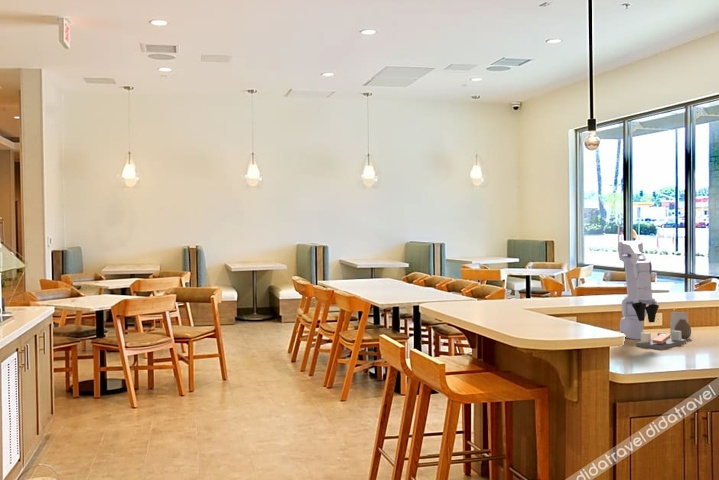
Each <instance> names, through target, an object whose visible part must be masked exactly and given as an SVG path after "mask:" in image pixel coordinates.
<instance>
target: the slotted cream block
mask: <svg viewBox="0 0 719 480" xmlns="http://www.w3.org/2000/svg"><path fill="white" fill-rule="evenodd" d="M651 334H652V333H651V332H645V331H643V332H642V333H641V339H640V342H646V343H649V342H651V339H652V336H651Z"/></svg>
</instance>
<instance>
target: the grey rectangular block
mask: <svg viewBox="0 0 719 480" xmlns="http://www.w3.org/2000/svg"><path fill="white" fill-rule="evenodd" d="M679 319H686V321H687V323H688V324H689V316H688V312H681V311H680V312H678V311H671V314H670V321H669V324H670V332H669V333H671V331H673V330H674V327H675V325H676V324H677V322H678V321H679Z"/></svg>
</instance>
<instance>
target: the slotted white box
mask: <svg viewBox="0 0 719 480" xmlns="http://www.w3.org/2000/svg"><path fill="white" fill-rule="evenodd" d="M670 337H671V340H677V341H679V340H682V336H681V331H676V330H673V331H671V334H670Z"/></svg>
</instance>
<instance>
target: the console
mask: <svg viewBox="0 0 719 480" xmlns="http://www.w3.org/2000/svg"><path fill="white" fill-rule="evenodd" d="M653 339H654V338H651V342H649V343H646V342H641V341H638V342H635V343H636V347H641V348H648V349H655V350H664V349H667V348H673V347H677V346H680V345H684V344H687V339H682V340H679V341H677V340H671V338H670V339H668V340H667V341H666V342H664V343H663V344H657V343H653V341H652V340H653Z"/></svg>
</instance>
